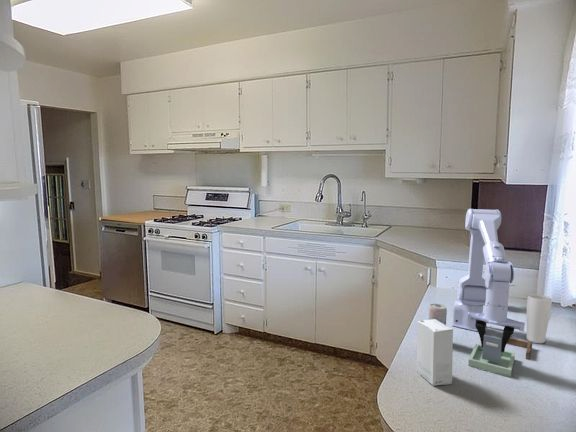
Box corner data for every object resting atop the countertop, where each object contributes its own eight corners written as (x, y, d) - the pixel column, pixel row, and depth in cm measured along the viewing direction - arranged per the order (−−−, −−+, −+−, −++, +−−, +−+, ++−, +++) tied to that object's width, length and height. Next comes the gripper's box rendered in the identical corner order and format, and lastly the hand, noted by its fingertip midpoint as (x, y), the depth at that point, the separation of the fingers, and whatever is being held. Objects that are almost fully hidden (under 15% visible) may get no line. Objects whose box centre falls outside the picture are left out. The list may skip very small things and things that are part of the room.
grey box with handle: (481, 359, 111) (483, 336, 110) (485, 349, 117) (487, 327, 116) (499, 364, 108) (501, 340, 107) (502, 354, 114) (504, 331, 114)
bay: (484, 348, 122) (484, 342, 122) (488, 338, 130) (488, 332, 129) (530, 359, 115) (530, 353, 115) (531, 348, 123) (532, 342, 122)
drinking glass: (551, 346, 125) (555, 301, 123) (528, 343, 126) (532, 299, 124) (542, 337, 131) (546, 294, 130) (520, 335, 132) (524, 293, 131)
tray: (468, 365, 111) (468, 359, 110) (475, 349, 121) (476, 343, 121) (510, 377, 105) (511, 370, 104) (514, 359, 115) (515, 353, 115)
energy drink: (445, 340, 128) (447, 305, 126) (444, 346, 123) (446, 310, 122) (428, 337, 130) (430, 302, 129) (426, 343, 125) (428, 307, 124)
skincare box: (452, 384, 101) (456, 329, 99) (431, 386, 99) (435, 331, 98) (433, 368, 109) (436, 317, 107) (414, 370, 107) (417, 319, 106)
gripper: (466, 301, 112) (463, 346, 113) (525, 312, 103) (520, 360, 105) (470, 295, 117) (467, 338, 119) (526, 305, 109) (522, 351, 111)
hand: (492, 348), depth 112 cm, fingers closed on grey box with handle, 4 cm apart
